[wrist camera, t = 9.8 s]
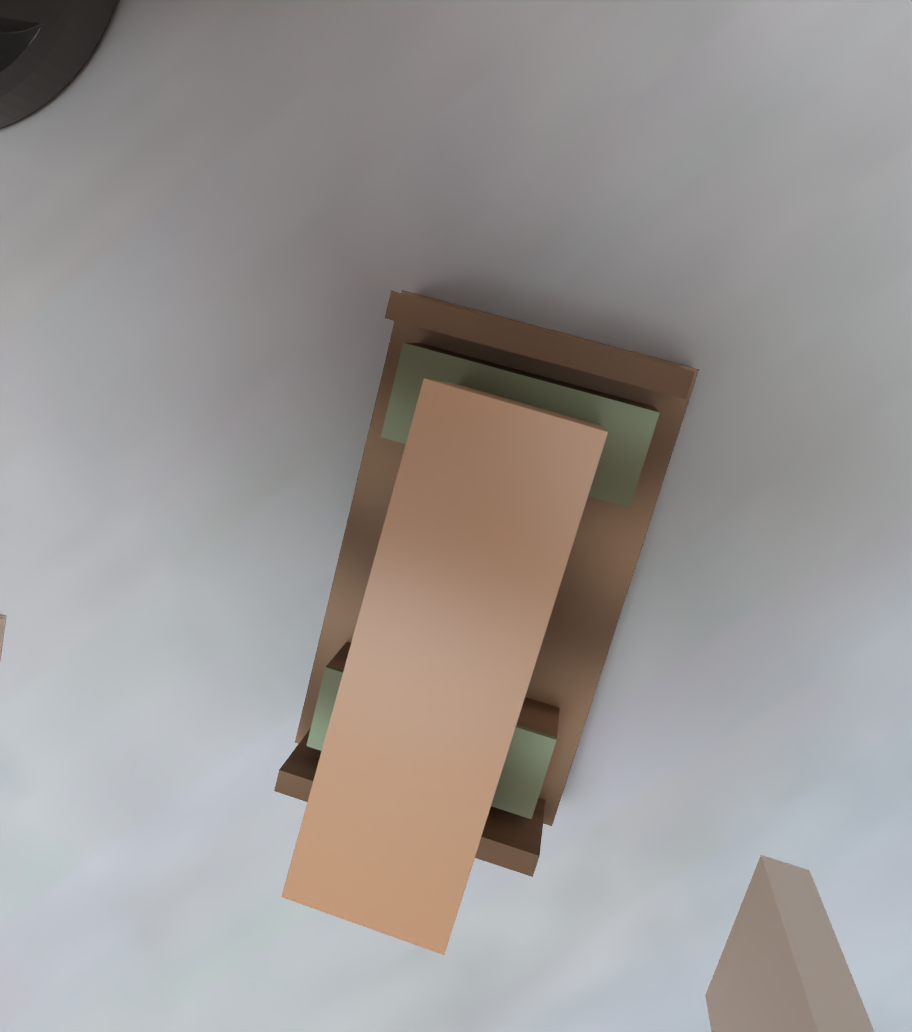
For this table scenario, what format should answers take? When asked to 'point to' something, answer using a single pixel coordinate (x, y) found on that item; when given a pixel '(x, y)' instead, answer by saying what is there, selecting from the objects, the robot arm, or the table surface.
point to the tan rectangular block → (441, 659)
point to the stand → (593, 558)
